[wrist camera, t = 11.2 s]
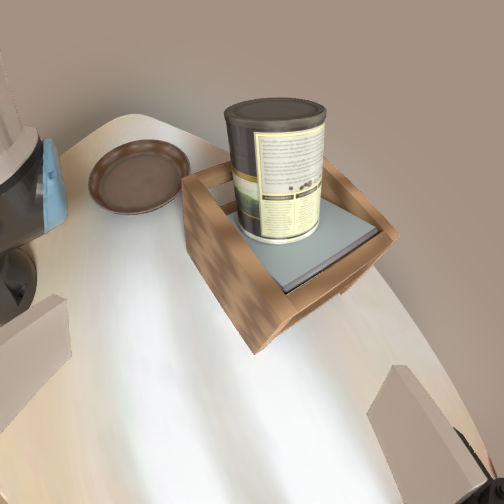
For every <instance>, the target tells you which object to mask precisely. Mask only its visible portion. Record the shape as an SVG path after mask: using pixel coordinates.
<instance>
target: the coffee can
mask: <svg viewBox="0 0 504 504" xmlns="http://www.w3.org/2000/svg"><path fill="white" fill-rule="evenodd" d="M224 117H225V120H226V124H227V133H228V141H229V149H230V157H231V165H232V173H233V181H234V189H235V197H236V205H237V213H238V224H239V227H240V229H241V230H242V231H243V232H244V233H245V234H246V235H247V236H248V237H250V238H252V239H254V240H256V241H259V242H263V243H268V244H288V243H294V242H298V241H300V240H302V239H305V238H307V237H308V236H310V235H311V234H312V233H313V232H314V231H315V230H316V229H317V227H318V225H319V211H320V198H321V185H322V170H323V151H324V127H325V118H326V108H325V107H324V106H322V105H320V104H318V103H315V102H312V101H308V100H303V99H296V98H262V99H254V100H249V101H244V102H241V103H237V104H234V105H232V106H230V107H228V108H227V109H226V110H225V111H224Z"/></svg>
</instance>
